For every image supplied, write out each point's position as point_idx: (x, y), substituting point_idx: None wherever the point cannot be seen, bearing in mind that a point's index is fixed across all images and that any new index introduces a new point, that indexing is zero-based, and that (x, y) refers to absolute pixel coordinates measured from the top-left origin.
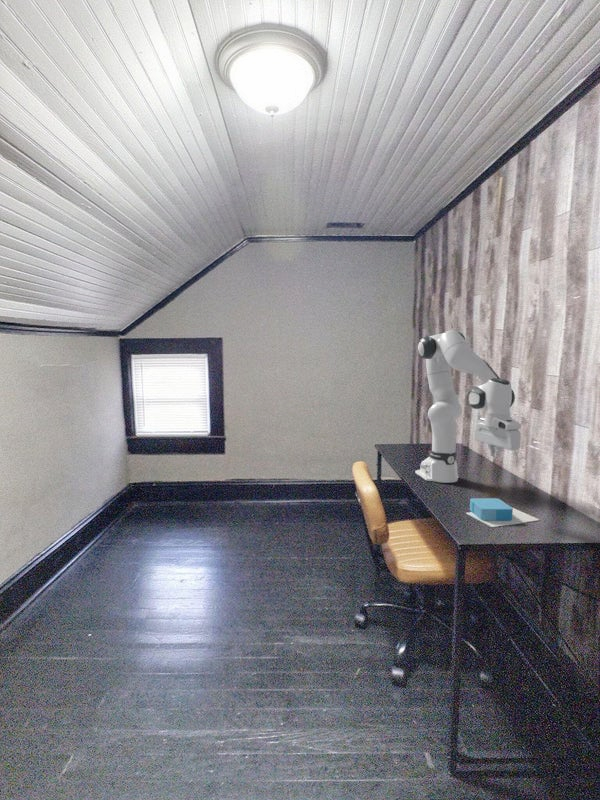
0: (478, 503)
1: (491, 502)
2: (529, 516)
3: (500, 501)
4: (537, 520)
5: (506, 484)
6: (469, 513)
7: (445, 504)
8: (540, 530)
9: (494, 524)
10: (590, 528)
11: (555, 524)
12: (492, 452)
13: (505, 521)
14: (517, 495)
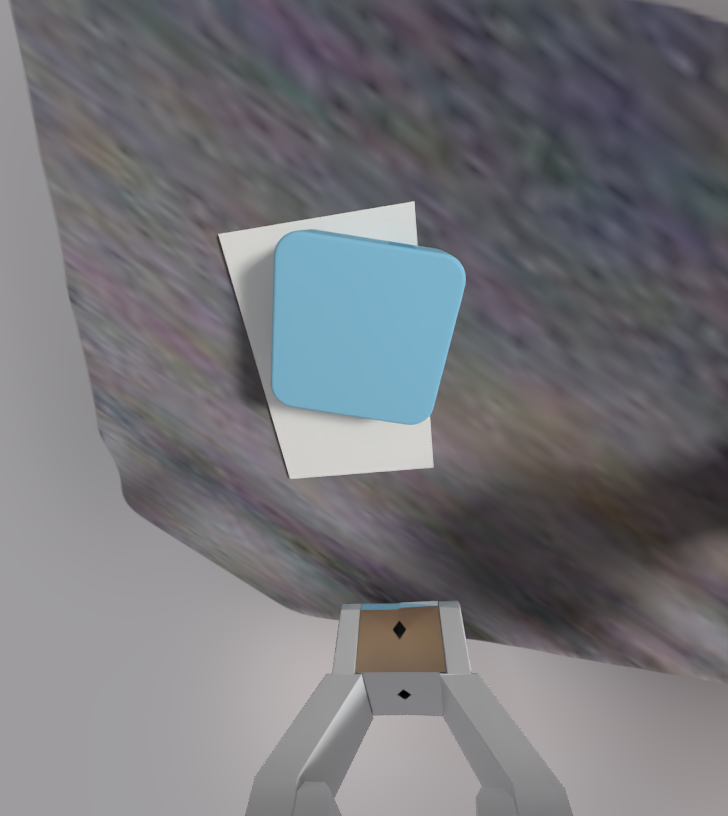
0: (370, 263)
1: (373, 352)
2: (324, 466)
3: (379, 407)
4: (287, 468)
5: (668, 606)
6: (400, 219)
7: (585, 151)
8: (199, 419)
9: (246, 265)
10: (223, 562)
11: (254, 499)
12: (413, 664)
13: None
14: (543, 566)
